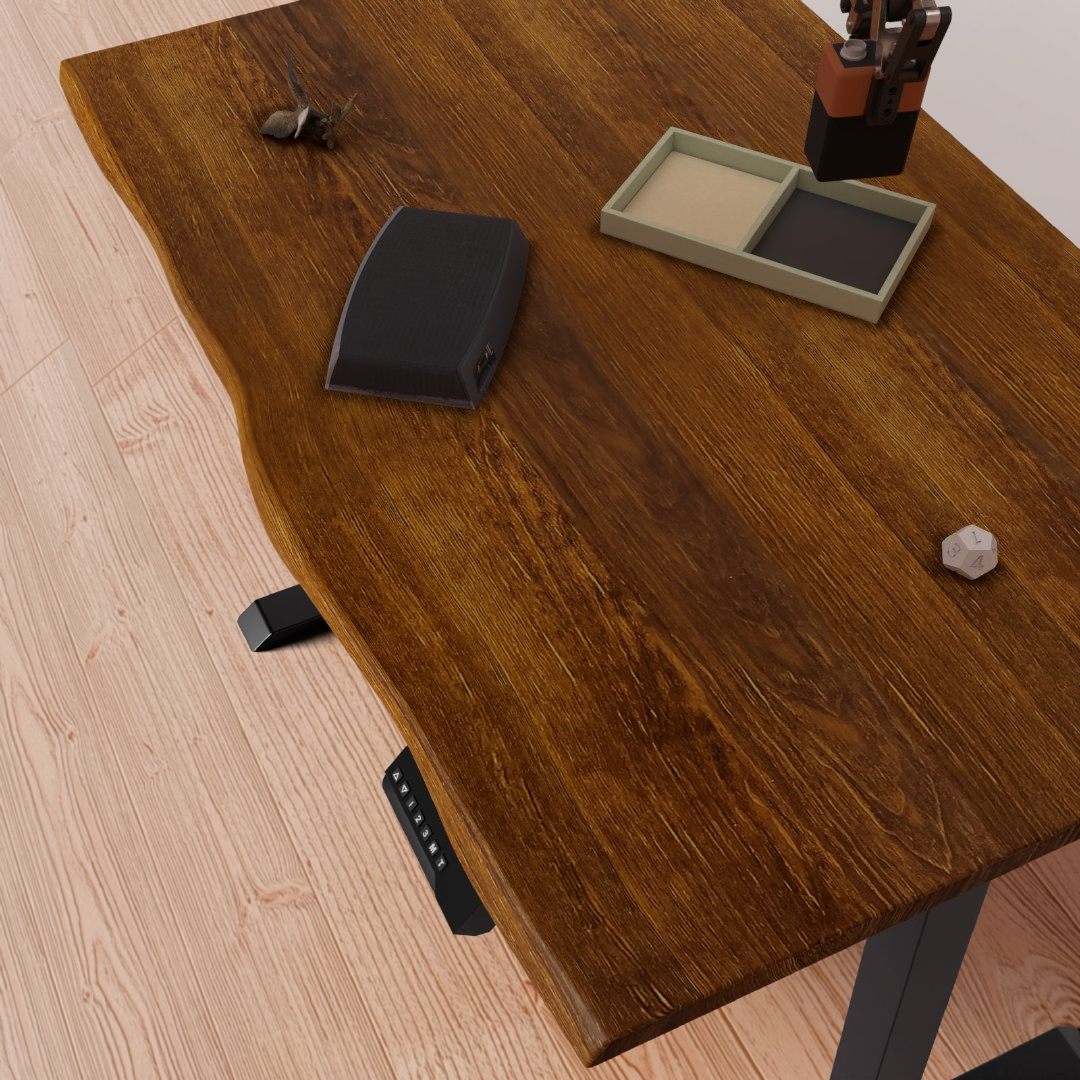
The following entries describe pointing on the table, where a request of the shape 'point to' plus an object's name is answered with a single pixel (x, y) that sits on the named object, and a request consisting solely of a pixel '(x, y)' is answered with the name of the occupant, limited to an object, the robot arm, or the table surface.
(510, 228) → the hard drive
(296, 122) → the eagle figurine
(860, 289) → the sorting tray
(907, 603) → the table surface
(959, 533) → the game die
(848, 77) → the battery
